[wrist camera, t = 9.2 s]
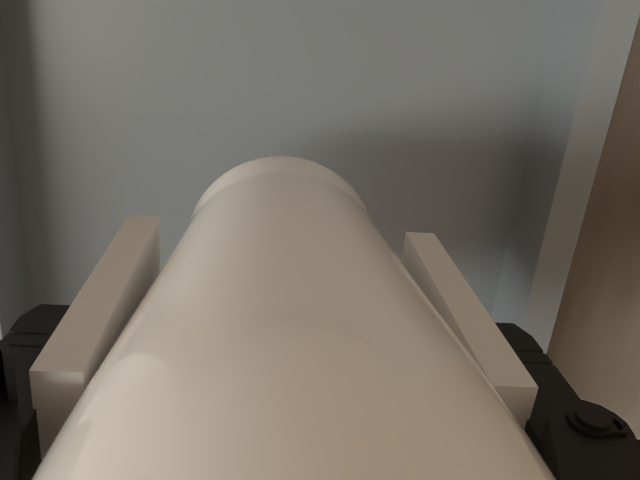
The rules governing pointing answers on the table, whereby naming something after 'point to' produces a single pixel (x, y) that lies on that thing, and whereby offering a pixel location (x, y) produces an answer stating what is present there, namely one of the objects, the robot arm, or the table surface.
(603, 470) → the robot arm
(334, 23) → the tray
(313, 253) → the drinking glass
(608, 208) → the table surface
